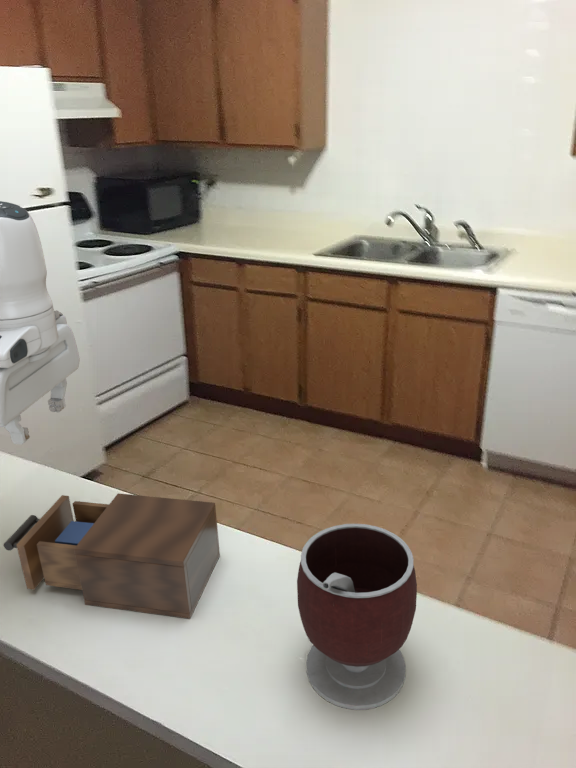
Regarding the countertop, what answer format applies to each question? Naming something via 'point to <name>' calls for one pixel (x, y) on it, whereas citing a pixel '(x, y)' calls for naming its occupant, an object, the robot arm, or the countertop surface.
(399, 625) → the mate gourd
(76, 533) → the block
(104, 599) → the cabinet
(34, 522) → the drawer
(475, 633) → the countertop surface
